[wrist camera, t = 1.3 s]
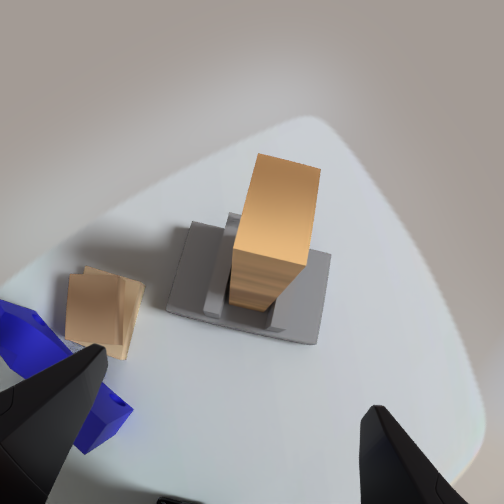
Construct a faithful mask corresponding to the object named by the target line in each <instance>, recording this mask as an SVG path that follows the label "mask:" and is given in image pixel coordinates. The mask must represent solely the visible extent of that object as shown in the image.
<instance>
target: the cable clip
mask: <svg viewBox="0 0 504 504" xmlns="http://www.w3.org/2000/svg"><path fill="white" fill-rule="evenodd" d="M0 355H1V357H2V358H3V359H4V361H5V362H6V364H7V365H8V366H9V368H10V369H12V370H13V371H15V372H16V373H18V374H19V375H20V376H22V377H23V378H24V379H27V378H29V377H31V376H33V375H35V374H37V373H39V372H41V371H42V370H44V369H46V368H48V367H50V366H52V365H54V364H56V363H58V362H59V361H61V360H63V359H65V358H67V357H69V356H71V355H73V353H72V352H71V351H70V350H69V349H68V348H67V347H66V346H65V344H64V343H63V342H62V341H61V340H60V339H59V338H58V337H57V336H56V335H55V333H54V332H53V331H52V330H51V329H50V328H49V327H48V326H47V324H46V323H45V322H44V321H43V320H42V318H41V317H40V316H39V315H38V314H37V312H36V311H34V310H31V309H28V308H24V307H21V306H18V305H15V304H12V303H9V302H6V301H4V300H1V299H0ZM133 410H134V409H133V408H132V407H130V406H129V405H128V404H127V403H126V402H124V401H123V400H122V399H121V398H120V397H119V396H117V395H116V394H115V393H114V392H113V391H112V390H111V389H109V388H108V387H107V386H106V385H105V384H104V383H103V382H102V383H101V386H100V388H99V391H98V393H97V396H96V399H95V401H94V404H93V406H92V408H91V410H90V412H89V414H88V416H87V418H86V419H85V421H84V423H83V425H82V427H81V429H80V431H79V433H78V435H77V437H76V439H75V441H74V443H73V445H74V446H76V447H77V448H78V449H79V450H80V451H81V452H82V453H83V454H84V455H85V454H87V453H88V452H90V451H91V450H93V449H94V448H96V447H97V446H99V445H100V444H102V443H103V442H105V441H106V440H108V439H109V438H111V437H112V436H114V435H115V434H116V432H117V431H118V430H119V428H120V427H121V426H122V424H123V423H124V422H125V421H126V419H127V418H128V417H129V415H130V414H131V413H132V411H133Z"/></svg>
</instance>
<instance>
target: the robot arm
mask: <svg viewBox="0 0 504 504" xmlns="http://www.w3.org/2000/svg"><path fill="white" fill-rule="evenodd" d="M107 368H108V360H107V352H106V348H105V347H104V346H102V345H99V344H96V343H94V344H91V345H89V346H87V347H86V348H84V349H82V350H80V351H78V352H76V353H74V354H73V355H71V356H69V357H67V358H65V359H63V360H61V361H59V362H58V363H56V364H54V365H52V366H50V367H48V368H46V369H44V370H42V371H41V372H39V373H37V374H35V375H33V376H31V377H29V378H27V379H26V380H24V381H22V382H20V383H18V384H16V385H15V386H12V387H10V388H8V389H6V390H5V391H2V392H0V504H45V503H46V500H47V498H48V495H49V493H50V491H51V489H52V487H53V484H54V482H55V480H56V478H57V476H58V474H59V472H60V469H61V467H62V465H63V463H64V461H65V459H66V457H67V455H68V453H69V451H70V449H71V447H72V445H73V443H74V441H75V439H76V437H77V435H78V433H79V431H80V429H81V427H82V425H83V423H84V421H85V419H86V418H87V416H88V414H89V412H90V410H91V408H92V406H93V404H94V401H95V399H96V396H97V393H98V391H99V388H100V386H101V383H102V381H103V378H104V376H105V373H106V371H107ZM359 470H360V490H361V504H468V503H467V502H466V501H465V500H464V499H463V498H462V497H461V496H460V495H459V494H458V493H457V492H456V491H455V490H454V489H453V488H452V487H451V486H450V484H449V483H448V482H447V481H446V480H445V479H444V477H443V476H442V475H441V474H440V473H438V470H437V469H436V468H435V467H434V465H433V464H432V463H431V462H430V461H429V459H428V458H427V457H426V456H425V455H424V453H423V452H422V451H421V450H420V449H419V447H418V446H417V445H416V444H415V443H414V441H413V440H412V439H411V438H410V436H409V435H408V434H407V433H406V432H405V430H404V429H403V428H402V427H401V426H400V424H399V423H398V422H397V421H396V420H395V418H394V417H393V416H392V415H391V414H390V412H389V411H388V410H387V409H386V408H385V407H384V406H382V405H373V406H371V407H370V409H369V410H368V411H367V413H366V414H365V415H364V417H363V418H362V420H361V424H360V449H359ZM161 502H165V503H166V504H192V503H188V502H179V501H175V500H172V499H168V498H164V497H160V498H159V499H158V500H157V503H156V504H162V503H161Z"/></svg>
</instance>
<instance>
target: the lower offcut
mask: <svg viewBox="0 0 504 504" xmlns="http://www.w3.org/2000/svg"><path fill="white" fill-rule="evenodd" d="M83 274H91V275H115V274H111V273H108V272H105V271H102V270H98V269H95V268H92V267H89V266H85V269H84V272H83ZM119 277H121V276H119ZM121 278H122V279H123V280H125V295H124V315H123V346H122V345H110V344H99V343H96V344H99V345H102V346H104V347H105V348H106V352H107V355H108V356H111V357H114V358H117V359H119V360H126V358H127V353H128V349H129V345H130V341H131V337H132V333H133V329H134V326H135V322H136V318H137V314H138V311H139V307H140V304H141V300H142V297H143V293H144V290H145V285H144V284H143V283H141V282H139V281H135V280H132V279H128V278H125V277H121ZM71 341H72V340H71ZM73 342H75V343H78V344H80V345H83V346H85V347H87V346H89V345H91V344H94V343H89V342H80V341H73Z"/></svg>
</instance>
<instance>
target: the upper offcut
mask: <svg viewBox="0 0 504 504" xmlns="http://www.w3.org/2000/svg"><path fill="white" fill-rule="evenodd" d="M124 295H125V280H123V279H122V278H121V277H119V276H118V275H91V274H70V277H69V286H68V296H67V309H66V325H65V340H72V341H80V342H89V343H99V344H110V345H122V346H123V315H124Z"/></svg>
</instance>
